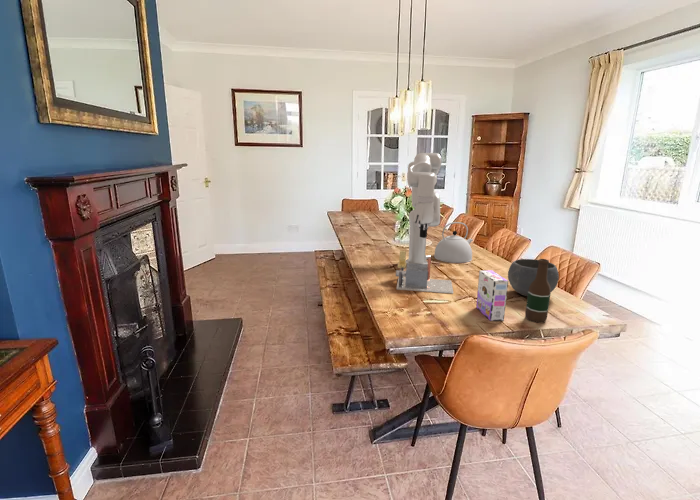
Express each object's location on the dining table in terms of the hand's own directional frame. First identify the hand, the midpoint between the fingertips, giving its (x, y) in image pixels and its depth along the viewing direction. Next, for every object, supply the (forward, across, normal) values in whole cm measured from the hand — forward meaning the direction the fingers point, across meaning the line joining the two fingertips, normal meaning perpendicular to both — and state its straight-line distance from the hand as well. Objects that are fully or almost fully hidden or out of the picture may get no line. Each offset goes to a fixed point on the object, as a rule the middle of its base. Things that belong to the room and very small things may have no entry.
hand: (423, 237), depth 184 cm
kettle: (+24, -51, -13) cm, 58 cm away
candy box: (+22, +13, +44) cm, 50 cm away
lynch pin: (+20, +9, +1) cm, 21 cm away
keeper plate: (+15, +7, -6) cm, 18 cm away
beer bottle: (+22, +4, +58) cm, 62 cm away
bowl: (+22, -21, +46) cm, 55 cm away
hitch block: (+22, +5, +6) cm, 23 cm away
